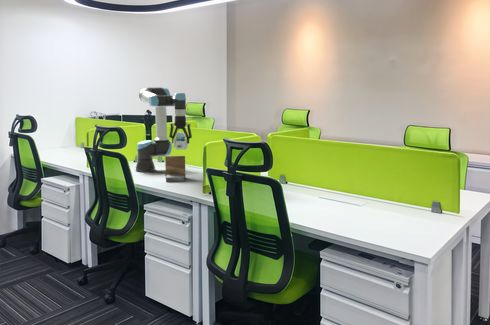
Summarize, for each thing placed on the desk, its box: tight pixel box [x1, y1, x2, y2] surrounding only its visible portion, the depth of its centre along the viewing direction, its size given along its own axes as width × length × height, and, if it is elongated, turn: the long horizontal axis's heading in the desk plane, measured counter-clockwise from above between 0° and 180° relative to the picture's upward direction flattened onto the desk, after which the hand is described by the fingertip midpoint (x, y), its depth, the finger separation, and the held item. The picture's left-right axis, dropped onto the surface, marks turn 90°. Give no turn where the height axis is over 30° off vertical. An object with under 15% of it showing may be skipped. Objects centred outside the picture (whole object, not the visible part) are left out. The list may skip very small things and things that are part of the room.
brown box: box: [164, 155, 186, 183], centre depth 309 cm, size 14×14×16 cm
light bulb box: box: [175, 132, 187, 150], centre depth 305 cm, size 11×7×11 cm, turn 11°
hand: (180, 148), depth 306 cm, fingers closed on light bulb box, 8 cm apart
